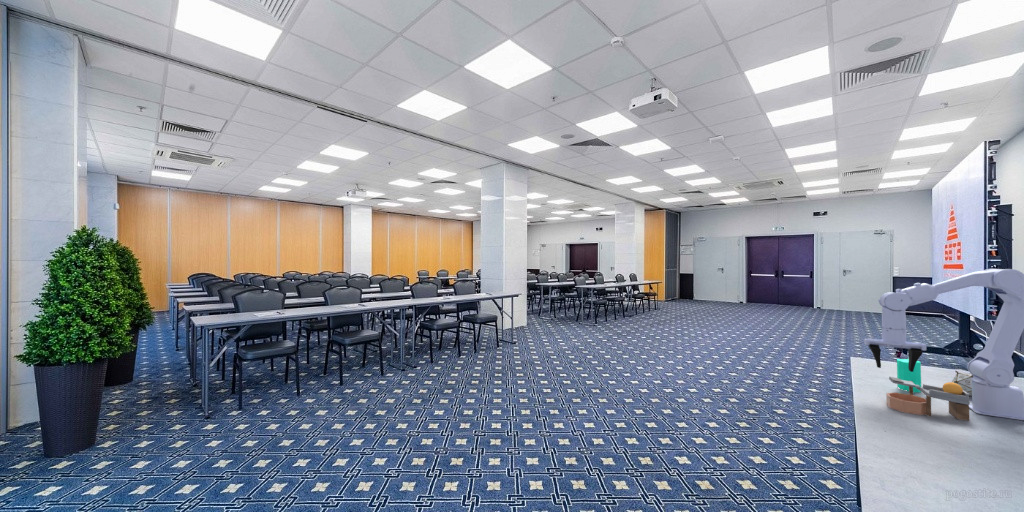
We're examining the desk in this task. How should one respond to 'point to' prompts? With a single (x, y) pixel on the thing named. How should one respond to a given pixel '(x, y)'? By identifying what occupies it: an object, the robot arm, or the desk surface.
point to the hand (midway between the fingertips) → (894, 369)
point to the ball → (952, 388)
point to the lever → (935, 392)
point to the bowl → (906, 403)
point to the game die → (964, 381)
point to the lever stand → (954, 408)
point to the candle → (908, 374)
